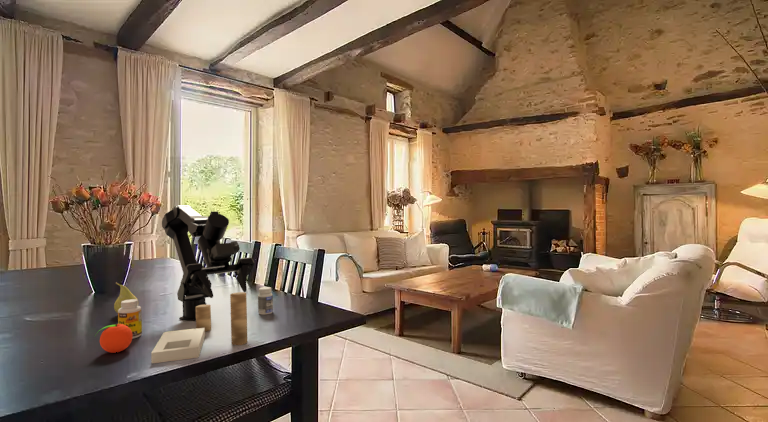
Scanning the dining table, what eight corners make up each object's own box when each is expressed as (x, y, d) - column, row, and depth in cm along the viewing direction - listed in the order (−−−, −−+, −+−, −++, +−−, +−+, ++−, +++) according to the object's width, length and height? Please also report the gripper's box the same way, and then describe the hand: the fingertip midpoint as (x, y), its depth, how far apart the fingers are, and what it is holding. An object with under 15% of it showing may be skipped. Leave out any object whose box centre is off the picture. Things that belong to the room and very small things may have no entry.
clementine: (91, 359, 96) (90, 330, 96) (98, 350, 102) (97, 322, 102) (130, 354, 99) (129, 325, 99) (135, 345, 105) (134, 318, 105)
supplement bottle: (115, 341, 108) (113, 303, 108) (123, 334, 114) (122, 299, 114) (137, 339, 110) (136, 302, 109) (145, 333, 115) (144, 297, 115)
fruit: (143, 312, 137) (141, 277, 137) (126, 318, 130) (125, 282, 129) (124, 312, 138) (123, 277, 138) (107, 318, 130) (106, 282, 130)
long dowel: (228, 344, 105) (226, 295, 104) (237, 339, 108) (236, 291, 108) (241, 345, 103) (240, 296, 103) (250, 340, 107) (249, 292, 107)
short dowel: (193, 331, 116) (192, 307, 116) (202, 327, 120) (202, 304, 119) (204, 332, 115) (204, 308, 114) (214, 328, 118) (213, 304, 118)
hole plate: (164, 341, 108) (164, 331, 108) (204, 336, 111) (204, 327, 111) (151, 363, 93) (151, 352, 93) (198, 357, 96) (198, 347, 96)
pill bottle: (268, 315, 131) (268, 289, 131) (255, 314, 132) (255, 289, 132) (275, 311, 136) (274, 286, 136) (262, 310, 137) (262, 286, 137)
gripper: (184, 234, 107) (201, 281, 99) (250, 230, 120) (270, 271, 112) (176, 261, 113) (191, 307, 105) (240, 254, 126) (257, 294, 118)
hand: (229, 294), depth 110 cm, fingers open, 9 cm apart
